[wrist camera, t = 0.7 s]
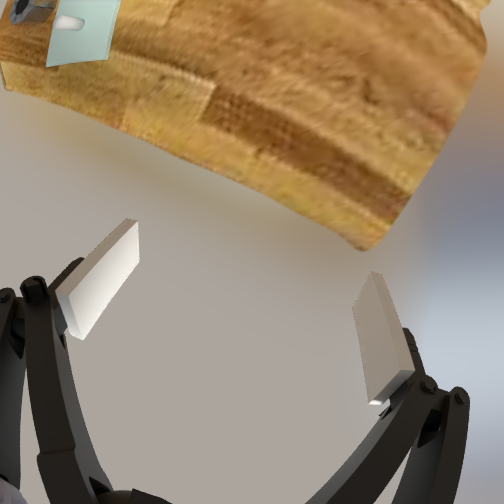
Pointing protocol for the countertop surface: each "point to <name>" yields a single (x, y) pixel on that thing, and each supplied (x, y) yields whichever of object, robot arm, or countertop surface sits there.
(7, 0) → the countertop surface
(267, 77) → the countertop surface
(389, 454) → the robot arm
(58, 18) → the post block
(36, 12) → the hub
